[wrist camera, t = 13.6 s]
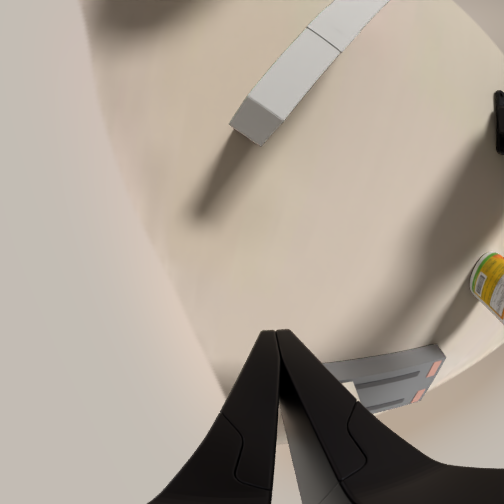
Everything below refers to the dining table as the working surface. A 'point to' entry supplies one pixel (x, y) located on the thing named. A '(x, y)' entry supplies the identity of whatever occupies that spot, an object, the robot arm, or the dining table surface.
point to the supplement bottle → (489, 283)
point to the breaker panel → (391, 376)
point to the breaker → (351, 389)
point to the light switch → (301, 67)
